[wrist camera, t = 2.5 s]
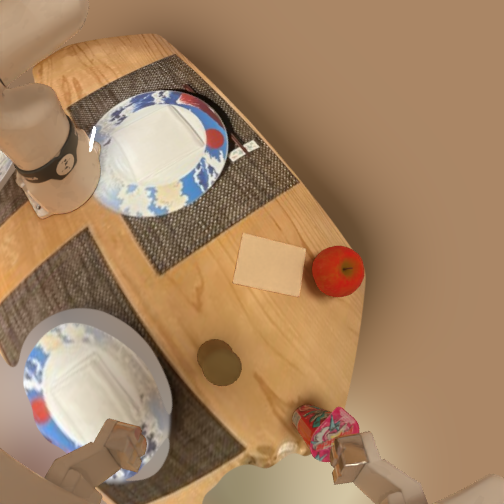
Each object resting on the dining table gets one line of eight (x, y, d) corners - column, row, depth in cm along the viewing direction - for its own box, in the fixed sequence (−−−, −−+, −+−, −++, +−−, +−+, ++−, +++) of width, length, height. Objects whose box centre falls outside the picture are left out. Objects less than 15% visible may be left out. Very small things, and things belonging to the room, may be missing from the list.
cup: (331, 419, 44) (365, 440, 33) (294, 443, 42) (321, 471, 30) (313, 384, 45) (348, 400, 34) (273, 408, 43) (299, 432, 31)
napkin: (232, 283, 46) (232, 283, 46) (242, 233, 48) (243, 232, 48) (298, 297, 48) (299, 296, 48) (305, 249, 50) (306, 248, 50)
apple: (290, 273, 49) (317, 261, 39) (321, 245, 51) (351, 228, 41) (319, 309, 48) (351, 306, 38) (348, 279, 51) (382, 270, 41)
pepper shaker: (222, 332, 44) (232, 338, 33) (240, 363, 43) (255, 377, 33) (190, 349, 42) (190, 360, 32) (208, 380, 41) (214, 399, 31)
